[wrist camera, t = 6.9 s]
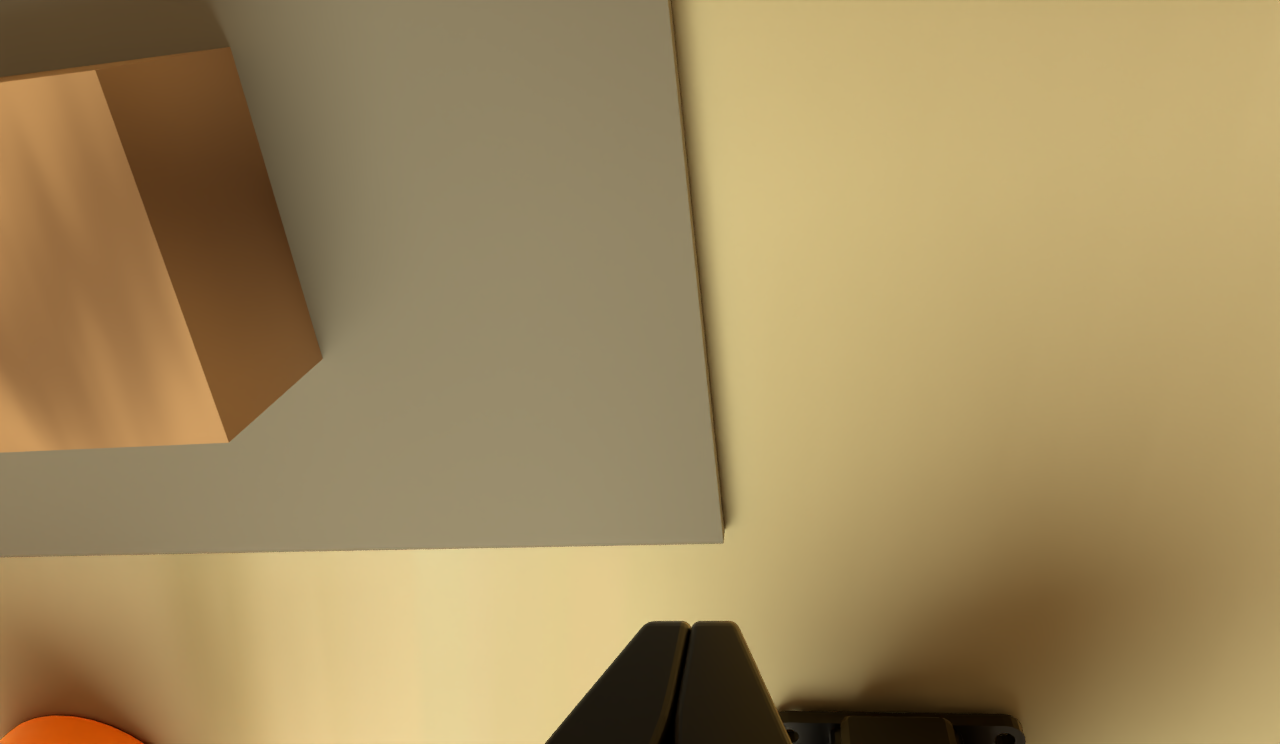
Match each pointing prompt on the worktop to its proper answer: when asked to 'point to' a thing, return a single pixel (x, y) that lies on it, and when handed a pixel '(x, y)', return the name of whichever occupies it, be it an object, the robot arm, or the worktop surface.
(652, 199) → the mat
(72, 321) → the block
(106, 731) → the shaker bottle
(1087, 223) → the worktop surface
